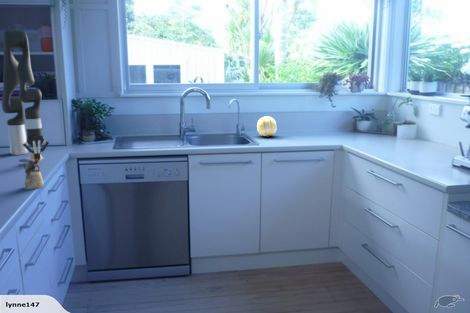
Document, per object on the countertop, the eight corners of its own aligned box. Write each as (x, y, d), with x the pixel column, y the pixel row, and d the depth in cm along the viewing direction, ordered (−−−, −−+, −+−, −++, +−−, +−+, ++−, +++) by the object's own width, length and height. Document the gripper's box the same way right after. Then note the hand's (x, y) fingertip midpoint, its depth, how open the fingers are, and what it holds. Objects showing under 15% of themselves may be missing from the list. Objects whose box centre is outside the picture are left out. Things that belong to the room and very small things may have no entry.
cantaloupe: (271, 138, 299) (271, 117, 296) (253, 137, 307) (253, 116, 304) (280, 135, 312) (280, 115, 309) (262, 134, 319) (262, 114, 316)
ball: (30, 161, 222) (28, 161, 226) (41, 163, 225) (39, 163, 230) (32, 151, 222) (30, 151, 227) (43, 153, 226) (41, 153, 230)
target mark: (15, 159, 233) (15, 159, 233) (36, 156, 243) (36, 155, 243) (27, 162, 227) (27, 162, 226) (48, 158, 236) (48, 158, 236)
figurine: (29, 184, 183) (26, 157, 180) (46, 184, 183) (43, 157, 181) (22, 189, 176) (19, 161, 173) (39, 189, 176) (36, 161, 174)
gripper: (21, 129, 213) (25, 162, 216) (49, 126, 221) (52, 159, 224) (18, 128, 219) (22, 160, 222) (45, 125, 227) (49, 157, 230)
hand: (37, 160), depth 223 cm, fingers closed
